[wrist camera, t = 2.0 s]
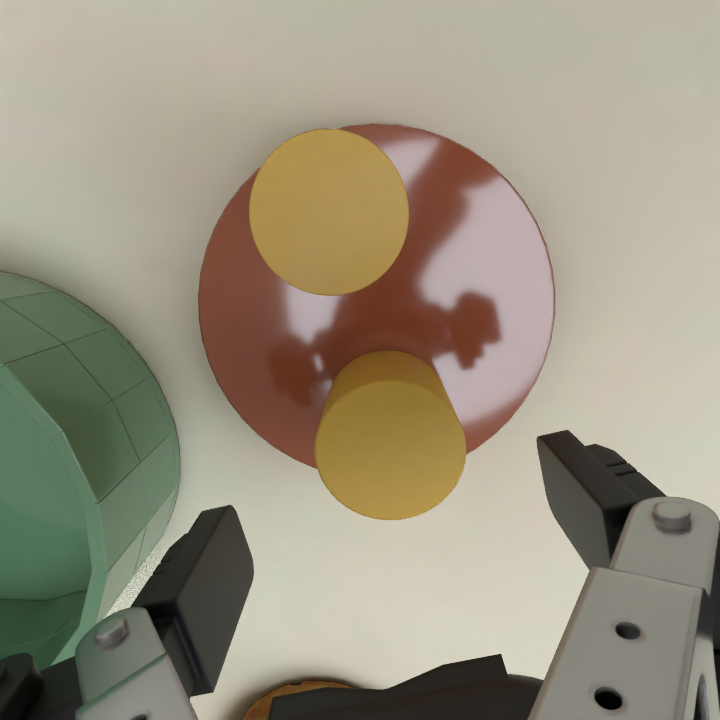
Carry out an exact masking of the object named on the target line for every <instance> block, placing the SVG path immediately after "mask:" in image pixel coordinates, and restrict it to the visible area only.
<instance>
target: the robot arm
mask: <svg viewBox="0 0 720 720" xmlns="http://www.w3.org/2000/svg"><path fill="white" fill-rule="evenodd" d="M537 449H538V454H539V459H540V465H541V470H542V475H543V481H544V486H545V491H546V496H547V499H548V503H549V506H550V508H551V511H552V513H553V515H554V517H555V519H556V520H557V522H558V523H559V525H560V526H561V528H562V529H563V531H564V532H565V534H566V535H567V537H568V539H569V540H570V542H571V543H572V545H573V546H574V548H575V549H576V551H577V552H578V554H579V555H580V557H581V558H582V560H583V561H584V563H585V564H586V566H587V567H588V569H589V570H590V572H589V574H588V576H587V578H586V581H585V583H584V586H583V588H582V590H581V593H580V595H579V598H578V600H577V602H576V605H575V607H574V610H573V612H572V614H571V617H570V619H569V622H568V624H567V626H566V629H565V631H564V633H563V636H562V638H561V641H560V643H559V645H558V648H557V650H556V653H555V655H554V657H553V660H552V662H551V665H550V667H549V669H548V672H547V674H546V677H545V679H544V680H541V679H537V678H533V677H528V676H522V675H514V674H507V672H506V669H505V665H504V662H503V659H502V656H501V654H498V655H492V656H487V657H482V658H477V659H471V660H466V661H461V662H455V663H450V664H445V665H442V666H439V667H437V668H435V669H432V670H430V671H428V672H426V673H423V674H421V675H419V676H416V677H414V678H412V679H409V680H407V681H405V682H403V683H400V684H398V685H396V686H393V687H391V688H388V689H384V690H374V689H356V688H338V687H324V688H318V689H313V690H308V691H303V692H297V693H292V694H287V695H281V696H276V697H273V698H272V702H271V707H270V711H269V716H268V720H720V521H719V518H718V516H717V515H716V513H715V512H714V511H713V510H711V509H710V508H709V507H707V506H705V505H703V504H701V503H699V502H696V501H693V500H690V499H686V498H679V497H667V496H666V495H665V494H664V493H663V492H662V491H660V490H659V489H658V488H657V487H656V486H655V485H653V484H652V483H651V482H650V481H649V480H648V479H647V478H645V477H644V476H643V475H642V474H641V473H640V472H637V470H636V469H635V468H634V467H633V466H631V465H630V464H629V463H628V464H627V461H626V460H625V459H623V458H622V457H621V456H620V455H619V454H618V453H616V452H615V451H614V450H611V449H608V448H605V447H603V446H600V445H597V444H593V445H588V446H584V445H583V444H582V443H581V442H580V441H579V440H578V439H577V438H576V437H575V436H574V435H573V434H572V433H571V432H570V431H569V430H564V431H560V432H555V433H551V434H546V435H542V436H538V437H537ZM253 575H254V566H253V559H252V555H251V552H250V549H249V547H248V544H247V541H246V538H245V535H244V532H243V529H242V526H241V524H240V521H239V518H238V515H237V512H236V510H235V509H234V507H233V506H231V505H227V506H223V507H218V508H214V509H209V510H205V511H202V512H201V513H200V515H199V516H198V518H197V519H196V521H195V523H194V524H193V526H192V527H191V529H190V531H189V532H188V533H187V534H184V535H183V536H182V537H181V538H180V539H179V540H178V541H177V542H175V543H174V544H173V545H172V546H171V547H170V548H169V549H168V551H167V552H166V554H165V555H164V557H163V559H162V560H161V564H159V565H158V566H157V568H156V569H155V571H154V572H153V576H151V577H150V578H149V580H148V581H147V583H146V584H145V586H144V587H143V589H142V590H141V592H140V593H139V595H138V596H137V598H136V599H135V601H134V602H133V604H132V605H131V607H130V608H127V609H123V610H121V611H118V612H116V613H113V614H112V615H110V616H108V617H106V618H105V619H103V620H101V621H100V622H99V623H97V624H96V625H95V626H93V627H92V628H91V629H90V630H89V631H88V632H87V633H86V634H85V635H84V636H83V637H82V638H81V640H80V641H79V643H78V645H77V647H76V649H75V656H73V657H71V658H68V659H66V660H64V661H61V662H59V663H57V664H54V665H52V666H50V667H47V668H45V669H43V670H40V671H39V669H38V667H37V665H36V663H35V661H34V659H33V657H32V656H31V655H30V654H29V653H17V654H13V655H10V656H7V657H5V658H2V659H0V720H198V718H197V716H196V714H195V711H194V709H193V707H192V705H191V703H190V700H189V699H190V697H191V696H197V695H202V694H207V693H212V692H214V689H215V686H216V683H217V681H218V678H219V675H220V672H221V669H222V666H223V664H224V661H225V658H226V655H227V652H228V649H229V647H230V644H231V641H232V638H233V635H234V632H235V630H236V627H237V624H238V621H239V618H240V615H241V613H242V610H243V607H244V604H245V601H246V598H247V596H248V593H249V590H250V587H251V584H252V581H253Z"/></svg>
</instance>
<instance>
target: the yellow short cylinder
mask: <svg viewBox="0 0 720 720" xmlns="http://www.w3.org/2000/svg"><path fill="white" fill-rule="evenodd" d="M465 458H466V441H465V436H464V432H463V429H462V426H461V423H460V421H459V419H458V417H457V414H456V412H455V410H454V408H453V405H452V403H451V401H450V399H449V396H448V394H447V392H446V390H445V387H444V385H443V383H442V381H441V379H440V378H439V376H438V375H437V374H436V372H435V371H434V370H433V369H432V368H431V367H430V366H429V365H428V364H426V363H425V362H424V361H422V360H421V359H419V358H417V357H415V356H413V355H411V354H408V353H404V352H400V351H393V350H383V351H375V352H371V353H368V354H365V355H362V356H360V357H358V358H356V359H355V360H353V361H352V362H350V363H349V364H348V365H346V366H345V367H344V368H343V369H342V370H341V371H340V373H339V374H338V375H337V377H336V378H335V380H334V382H333V384H332V386H331V388H330V391H329V394H328V397H327V401H326V404H325V407H324V411H323V414H322V417H321V421H320V424H319V427H318V430H317V434H316V439H315V461H316V465H317V469H318V472H319V474H320V477H321V479H322V481H323V483H324V484H325V486H326V487H327V489H328V490H329V491H330V493H331V494H332V495H333V496H334V497H335V498H336V499H337V500H338V501H339V502H341V503H342V504H343V505H344V506H346V507H347V508H349V509H351V510H352V511H354V512H356V513H359V514H361V515H364V516H367V517H370V518H375V519H381V520H400V519H406V518H410V517H414V516H417V515H420V514H422V513H424V512H427V511H428V510H430V509H432V508H433V507H435V506H436V505H438V504H439V503H440V502H442V501H443V500H444V499H445V498H446V497H447V496H448V495H449V493H450V492H451V491H452V490H453V488H454V487H455V485H456V484H457V482H458V480H459V478H460V476H461V473H462V471H463V468H464V464H465Z"/></svg>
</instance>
